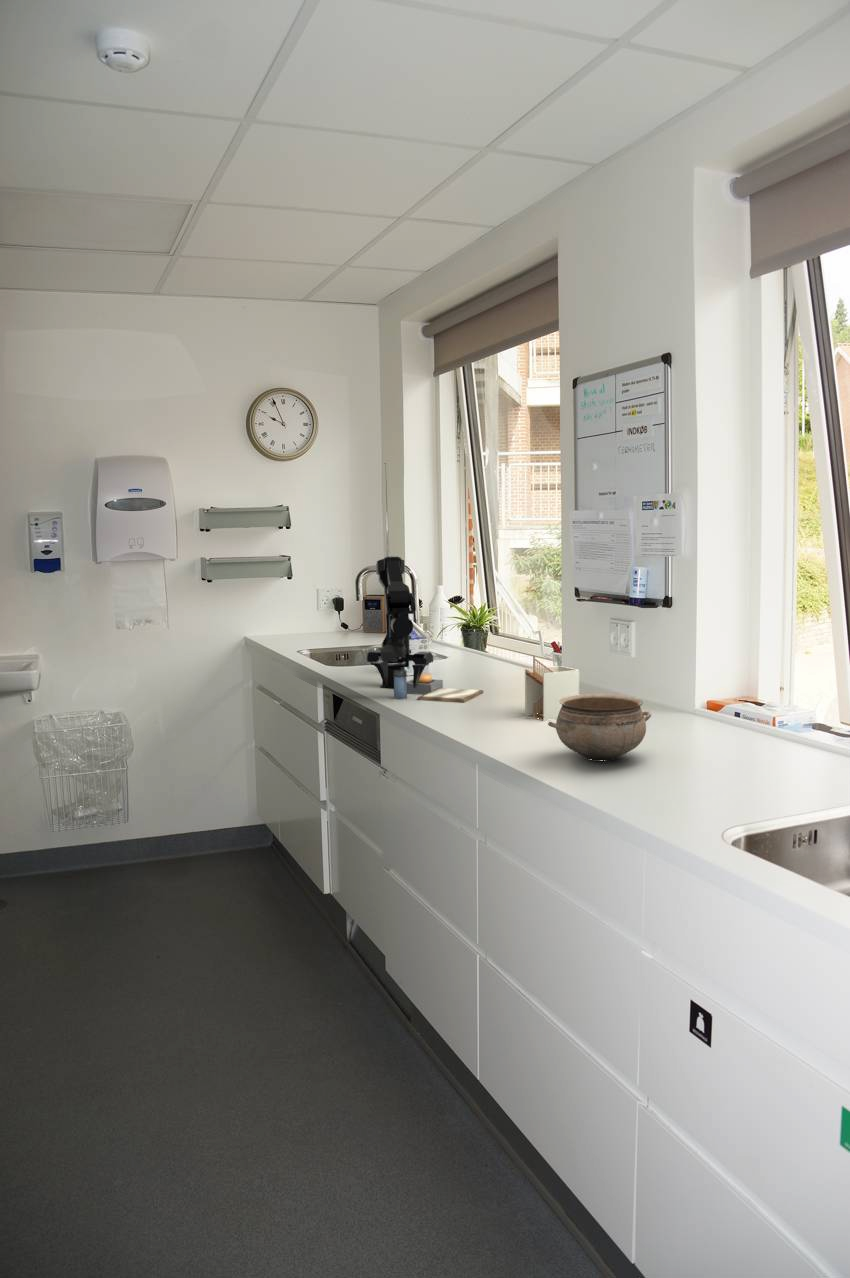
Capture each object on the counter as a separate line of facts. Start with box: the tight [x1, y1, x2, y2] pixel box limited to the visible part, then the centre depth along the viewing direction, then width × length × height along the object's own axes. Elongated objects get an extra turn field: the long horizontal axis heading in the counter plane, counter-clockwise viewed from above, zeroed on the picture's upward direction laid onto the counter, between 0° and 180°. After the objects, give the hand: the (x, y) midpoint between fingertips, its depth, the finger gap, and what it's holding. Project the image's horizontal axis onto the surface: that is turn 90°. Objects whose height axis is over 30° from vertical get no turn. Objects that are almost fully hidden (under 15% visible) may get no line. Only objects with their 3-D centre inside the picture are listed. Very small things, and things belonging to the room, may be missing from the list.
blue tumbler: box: [393, 670, 408, 700], centre depth 284 cm, size 4×4×8 cm
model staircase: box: [524, 655, 580, 721], centre depth 254 cm, size 9×11×17 cm
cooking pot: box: [547, 693, 652, 762], centre depth 210 cm, size 25×19×12 cm
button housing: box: [406, 678, 444, 695], centre depth 294 cm, size 9×9×3 cm
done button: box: [418, 673, 432, 683], centre depth 294 cm, size 5×5×2 cm
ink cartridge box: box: [405, 630, 430, 677], centre depth 326 cm, size 10×6×14 cm, turn 115°
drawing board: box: [417, 687, 484, 703], centre depth 285 cm, size 14×16×1 cm
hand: (400, 686), depth 284 cm, fingers open, 9 cm apart
